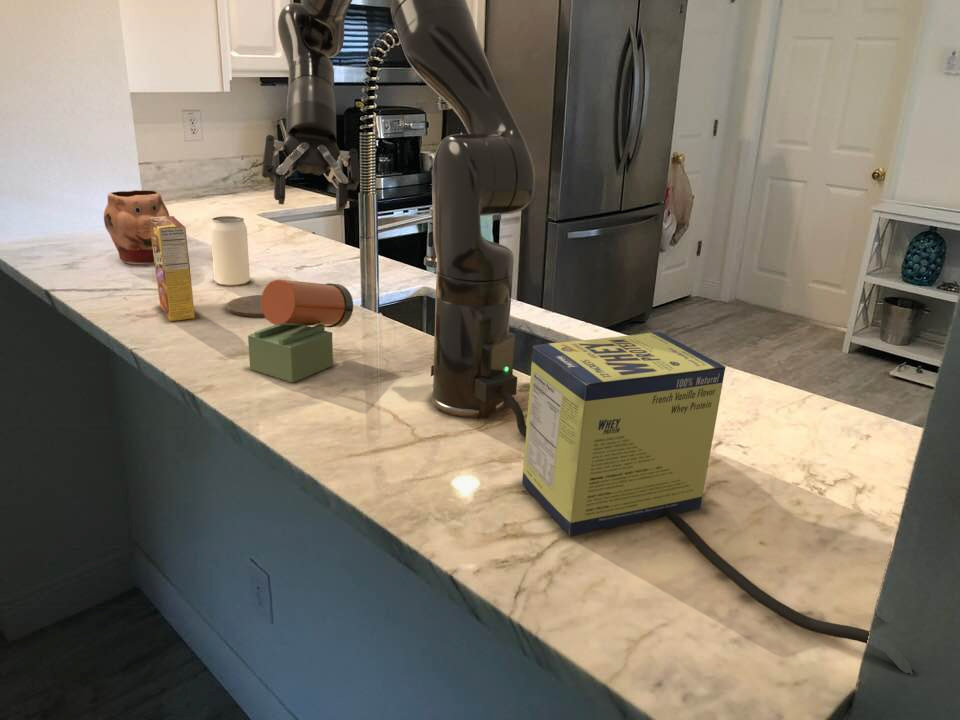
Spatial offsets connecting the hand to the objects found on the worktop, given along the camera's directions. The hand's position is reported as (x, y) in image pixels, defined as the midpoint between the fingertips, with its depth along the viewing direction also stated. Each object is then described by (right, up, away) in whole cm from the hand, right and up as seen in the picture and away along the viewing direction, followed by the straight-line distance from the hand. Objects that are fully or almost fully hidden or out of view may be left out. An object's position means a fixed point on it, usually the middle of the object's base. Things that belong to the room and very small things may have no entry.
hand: (311, 205), depth 113 cm
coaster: (-13, -14, +19) cm, 26 cm away
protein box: (+38, -37, -35) cm, 64 cm away
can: (-22, -8, +33) cm, 40 cm away
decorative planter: (-45, -2, +45) cm, 64 cm away
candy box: (-25, -15, +13) cm, 33 cm away
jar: (+1, -15, -7) cm, 17 cm away
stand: (-1, -24, -7) cm, 25 cm away
